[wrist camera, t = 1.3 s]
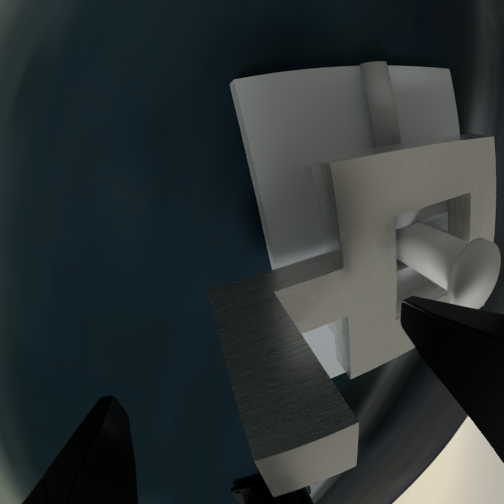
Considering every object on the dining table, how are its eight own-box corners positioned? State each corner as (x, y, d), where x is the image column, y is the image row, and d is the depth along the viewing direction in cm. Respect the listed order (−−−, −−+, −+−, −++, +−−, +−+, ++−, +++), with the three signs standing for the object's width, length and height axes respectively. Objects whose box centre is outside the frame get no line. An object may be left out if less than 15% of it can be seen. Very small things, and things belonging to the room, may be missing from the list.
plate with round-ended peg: (446, 309, 19) (512, 360, 13) (295, 379, 18) (344, 470, 11) (437, 70, 13) (537, 64, 7) (229, 84, 11) (285, 27, 5)
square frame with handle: (243, 392, 13) (292, 529, 7) (178, 194, 10) (183, 300, 3) (467, 293, 15) (553, 353, 8) (470, 133, 11) (594, 157, 5)
